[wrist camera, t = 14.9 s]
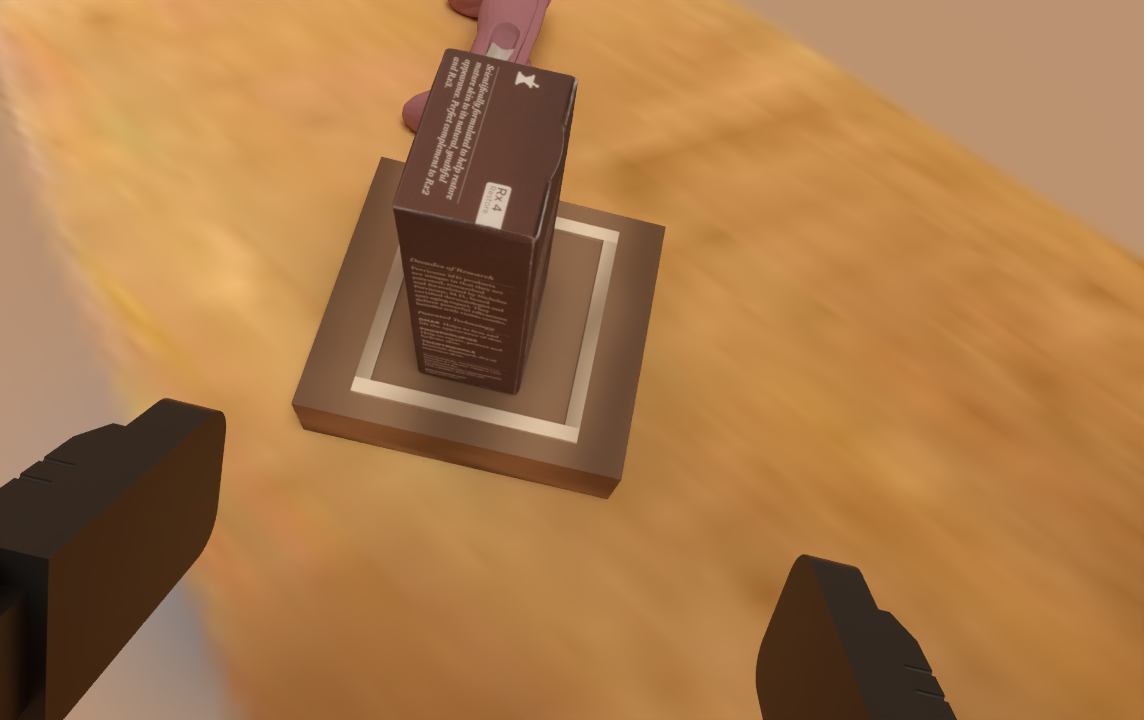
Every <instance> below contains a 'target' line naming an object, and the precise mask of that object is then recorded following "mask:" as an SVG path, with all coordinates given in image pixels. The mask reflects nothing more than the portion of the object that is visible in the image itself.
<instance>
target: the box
mask: <svg viewBox="0 0 1144 720" xmlns="http://www.w3.org/2000/svg"><path fill="white" fill-rule="evenodd" d="M577 84H578V80H577V78H575V77H573V76H571V75H566V74H561V73H556V72H552V71H547V70H543V69H539V68H534V67H530V66H526V65H522V64H518V63H513V62H509V61H505V60H501V59H497V58H493V57H488V56H484V55H480V54H475V53H471V52H466V51H461V50H456V49H446V50H445V52H444V55H443V58H442V61H441V64H440V66H439V69H438V71H437V74H436V77H435V79H434V82H433V85H432V87H431V90H430V93H429V95H428V98H427V101H426V104H425V107H424V110H423V113H422V116H421V120H420V123H419V126H418V129H417V132H416V135H415V138H414V140H413V143H412V146H411V149H410V152H409V155H408V158H407V161H406V163H405V166H404V170H403V173H402V176H401V179H400V182H399V185H398V188H397V192H396V195H395V198H394V200H393V203H392V208H393V212H394V216H395V223H396V228H397V234H398V240H399V245H400V254H401V259H402V267H403V273H404V278H405V285H406V290H407V298H408V304H409V311H410V318H411V326H412V332H413V339H414V345H415V353H416V359H417V364H418V370H419V371H420V372H422V373H426V374H431V375H435V376H439V377H443V378H448V379H452V380H456V381H460V382H464V383H468V384H472V385H478V386H481V387H485V388H490V389H495V390H499V391H505V392H508V393H513V394H516V393H518V391H519V389H520V385H521V382H522V378H523V375H524V371H525V367H526V363H527V359H528V355H529V351H530V347H531V343H532V339H533V335H534V331H535V326H536V323H537V318H538V314H539V310H540V305H541V301H542V297H543V293H544V288H545V284H546V278H547V273H548V266H549V260H550V254H551V247H552V242H553V235H554V229H555V222H556V216H557V210H558V204H559V197H560V191H561V185H562V179H563V173H564V166H565V160H566V155H567V149H568V142H569V137H570V130H571V124H572V118H573V110H574V103H575V97H576V91H577Z"/></svg>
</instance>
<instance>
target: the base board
mask: <svg viewBox="0 0 1144 720" xmlns="http://www.w3.org/2000/svg"><path fill="white" fill-rule="evenodd" d="M404 166H405V163H404V162H400V161H396V160H392V159H388V158H384V157H381V159H380V162H379V165H378V168H377V170H376V173H375V176H374V179H373V181H372V184H371V187H370V190H369V192H368V195H367V198H366V201H365V203H364V206H363V209H362V212H361V214H360V217H359V220H358V223H357V225H356V228H355V231H354V234H353V236H352V239H351V242H350V244H349V247H348V250H347V253H346V255H345V258H344V261H343V264H342V266H341V269H340V272H339V275H338V277H337V280H336V283H335V286H334V288H333V291H332V294H331V297H330V299H329V302H328V305H327V308H326V310H325V313H324V316H323V319H322V321H321V324H320V327H319V330H318V332H317V335H316V338H315V341H314V343H313V346H312V349H311V352H310V354H309V357H308V360H307V362H306V365H305V368H304V371H303V373H302V376H301V379H300V382H299V384H298V387H297V390H296V393H295V395H294V398H293V401H292V406H293V408H294V410H295V412H296V414H297V416H298V418H299V420H300V422H301V424H302V427H303V429H306V430H310V431H315V432H319V433H323V434H328V435H332V436H336V437H341V438H345V439H349V440H354V441H358V442H362V443H367V444H371V445H376V446H380V447H384V448H389V449H393V450H397V451H402V452H406V453H410V454H415V455H419V456H423V457H428V458H432V459H436V460H441V461H445V462H450V463H454V464H458V465H463V466H467V467H471V468H476V469H480V470H484V471H489V472H493V473H497V474H502V475H506V476H510V477H515V478H519V479H524V480H528V481H532V482H537V483H541V484H545V485H550V486H554V487H558V488H563V489H567V490H571V491H576V492H580V493H584V494H589V495H593V496H597V497H602V498H606V499H608V498H609V496H610V495H611V493H612V492H613V491H614V489H615V488H616V486H617V485H618V484H619V482H620V481H621V478H622V472H623V466H624V461H625V455H626V449H627V443H628V438H629V432H630V426H631V421H632V415H633V409H634V404H635V398H636V392H637V386H638V381H639V375H640V369H641V364H642V358H643V352H644V347H645V341H646V335H647V329H648V324H649V318H650V312H651V307H652V301H653V295H654V290H655V284H656V278H657V272H658V267H659V261H660V255H661V250H662V244H663V238H664V233H665V226H661V225H657V224H652V223H648V222H644V221H640V220H636V219H632V218H628V217H624V216H620V215H616V214H612V213H608V212H604V211H600V210H596V209H591V208H587V207H583V206H579V205H575V204H571V203H567V202H563V201H559V204H558V210H557V216H556V222H555V229H554V235H553V242H552V247H551V254H550V260H549V266H548V273H547V278H546V284H545V288H544V293H543V297H542V301H541V305H540V310H539V314H538V318H537V323H536V326H535V331H534V335H533V339H532V343H531V347H530V351H529V355H528V359H527V363H526V367H525V371H524V375H523V378H522V382H521V385H520V389H519V391H518V393H516V394H513V393H508V392H505V391H499V390H495V389H490V388H485V387H481V386H478V385H472V384H468V383H464V382H460V381H456V380H452V379H448V378H443V377H439V376H435V375H431V374H426V373H422V372H420V371H419V370H418V364H417V359H416V353H415V345H414V339H413V332H412V326H411V318H410V311H409V304H408V298H407V290H406V285H405V278H404V273H403V267H402V259H401V254H400V245H399V240H398V234H397V228H396V223H395V216H394V212H393V208H392V203H393V200H394V198H395V195H396V192H397V188H398V185H399V182H400V179H401V176H402V173H403V170H404Z"/></svg>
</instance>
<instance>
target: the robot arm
mask: <svg viewBox="0 0 1144 720" xmlns="http://www.w3.org/2000/svg"><path fill="white" fill-rule="evenodd" d="M225 434H226V419H225V416H224V414H223V412H221V411H218V410H214V409H210V408H206V407H202V406H197V405H193V404H189V403H185V402H181V401H177V400H173V399H169V398H164V399H162V400H160V401H158V402H157V403H156V404H154V405H153V406H152V407H150V408H149V409H148V410H146V411H145V412H144V413H143V414H141V415H140V416H139V417H137V418H136V419H135V420H133V421H132V422H131V423H129V424H128V425H127V426H122V425H118V424H114V423H112V424H109V425H106V426H103V427H101V428H98V429H95V430H91V431H89V432H85V433H83V434H79V435H77V436H74V437H72V438H70V439H69V440H68V441H66V442H65V443H63V444H62V445H60V446H59V447H58V448H57V449H55V450H53V451H52V452H51V453H49V454H48V455H46V456H45V457H44V460H43V462H42V461H38V462H36V463H35V464H33V465H32V466H31V467H29V468H28V469H26V470H25V471H24V472H22V473H21V474H20V477H19V479H16V478H14V479H12V480H11V481H9V482H8V483H7V484H5V485H4V486H2V487H1V488H0V720H63V719H64V718H65V717H66V716H67V715H68V713H69V712H70V711H71V710H72V708H73V707H74V706H75V705H76V703H78V701H79V700H80V699H81V698H82V696H83V695H84V694H85V693H86V691H88V689H89V688H90V687H91V686H92V685H93V683H94V682H95V681H96V680H97V679H98V677H99V676H100V675H101V674H102V673H103V671H104V670H105V669H106V668H107V666H108V665H109V664H110V663H111V662H112V660H113V659H114V658H115V657H116V656H117V654H118V653H119V652H120V651H121V650H122V648H123V647H124V646H125V645H126V643H127V642H128V641H129V640H130V639H131V638H132V636H133V635H134V634H135V633H136V632H137V630H138V629H139V628H140V627H141V626H142V624H143V623H144V622H145V621H146V620H147V618H148V617H149V616H150V615H151V614H152V612H153V611H154V610H155V609H156V608H157V606H158V605H159V604H160V603H161V602H162V600H163V599H164V598H165V597H166V596H167V594H168V593H169V592H170V591H171V590H172V588H173V587H174V586H175V585H176V584H177V582H178V581H179V580H180V579H181V578H182V576H183V575H184V574H185V573H186V572H187V570H188V569H189V568H190V567H191V566H192V564H193V563H194V562H195V561H196V560H197V558H198V557H199V556H200V554H201V553H202V551H203V550H204V548H205V546H206V544H207V542H208V540H209V538H210V535H211V533H212V530H213V527H214V523H215V520H216V515H217V509H218V500H219V490H220V481H221V472H222V462H223V453H224V443H225ZM756 689H757V694H758V699H759V704H760V708H761V713H762V718H763V720H957V719H956V717H955V715H954V713H953V711H952V709H951V707H950V705H949V703H948V702H945V701H944V697H945V695H944V693H943V691H942V689H941V687H940V685H939V683H938V681H937V679H936V677H934V676H932V669H931V667H930V666H929V664H928V662H927V660H926V658H925V656H924V654H923V652H922V650H921V648H920V646H919V644H918V642H917V640H916V639H915V638H914V637H913V636H912V635H911V634H910V633H909V632H908V631H907V630H906V629H905V628H904V627H903V626H902V625H901V624H900V623H899V622H898V620H897V619H896V618H895V617H894V616H893V615H892V614H891V613H890V612H887V611H883V610H879V609H878V608H877V606H876V603H875V601H874V599H873V597H872V595H871V593H870V591H869V588H868V586H867V584H866V582H865V580H864V578H863V575H862V573H861V572H860V570H859V569H858V568H857V567H855V566H851V565H847V564H842V563H838V562H834V561H830V560H826V559H822V558H818V557H814V556H809V555H805V554H803V555H801V556H799V557H798V558H797V560H796V561H795V563H794V564H793V566H792V568H791V571H790V573H789V576H788V578H787V581H786V583H785V586H784V588H783V591H782V593H781V595H780V598H779V600H778V603H777V605H776V608H775V610H774V613H773V615H772V618H771V620H770V623H769V625H768V628H767V630H766V633H765V635H764V638H763V640H762V643H761V646H760V650H759V654H758V659H757V666H756Z"/></svg>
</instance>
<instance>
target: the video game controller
mask: <svg viewBox="0 0 1144 720" xmlns="http://www.w3.org/2000/svg"><path fill="white" fill-rule="evenodd" d="M448 1H449V3H450V5H451V6H452V7H453V8H454V9H455V10H456V11H458V12H460V13H461V14H464V15H466V16H470V17H478V26H477V36H476V38H475V41H474V44H473V46H472V49H471V51H470V52H471V53H475V54H480V55H484V56H488V57H493V58H497V59H501V60H505V61H509V62H513V63H518V64H522V65H526V66H530V67H531V63H530V61H529V60H528V58H529V56H530V53H531V51H532V48H533V46H534V44H535V41H536V39H537V36H538V34H539V31H540V28H541V25H542V22H543V19H544V16H545V12H546V9H547V7H548V5H549V3H550V2H551V0H448ZM429 93H430V90H429V91H426V92H423V93H421V94H418V95H416V96H414V97H413V98H411V99H410V100H409V101H408V102H407V103H406V104H405V105H404V107H403V112H402V116H403V120H404V122H405V123H406V124H407V125H408V127H409V128H410V129H411V130H413V131H415V132H417V129H418V126H419V123H420V120H421V116H422V113H423V110H424V107H425V104H426V101H427V98H428V95H429Z"/></svg>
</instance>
